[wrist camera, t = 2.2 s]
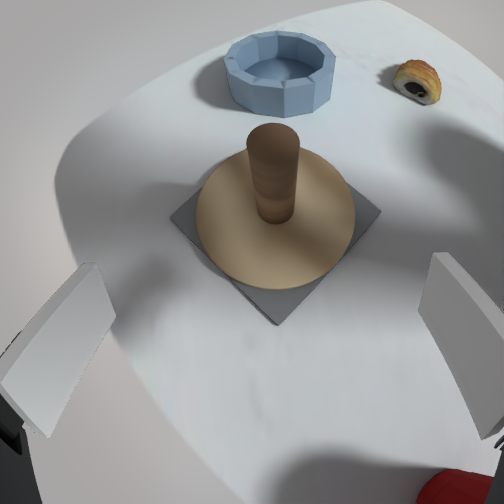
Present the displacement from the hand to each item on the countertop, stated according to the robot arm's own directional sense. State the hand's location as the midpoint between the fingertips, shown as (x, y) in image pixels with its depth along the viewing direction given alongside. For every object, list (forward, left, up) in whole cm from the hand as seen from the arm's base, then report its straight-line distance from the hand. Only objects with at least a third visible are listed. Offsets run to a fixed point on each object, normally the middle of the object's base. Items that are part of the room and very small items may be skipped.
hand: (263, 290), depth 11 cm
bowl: (-21, -18, -14) cm, 31 cm away
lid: (-7, -6, -14) cm, 17 cm away
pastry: (-36, -6, -14) cm, 39 cm away
